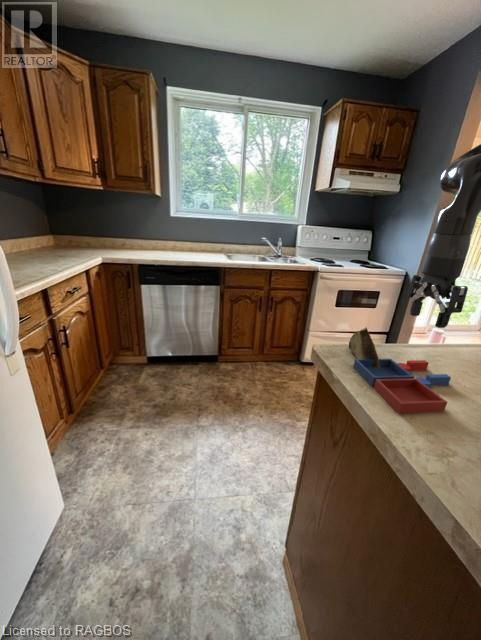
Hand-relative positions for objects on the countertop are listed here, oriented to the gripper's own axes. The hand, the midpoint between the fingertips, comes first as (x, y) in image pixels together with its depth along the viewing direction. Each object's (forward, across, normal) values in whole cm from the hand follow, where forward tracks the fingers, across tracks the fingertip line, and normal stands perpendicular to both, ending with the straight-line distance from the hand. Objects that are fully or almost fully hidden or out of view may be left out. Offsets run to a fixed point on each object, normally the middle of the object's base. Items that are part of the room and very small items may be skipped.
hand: (426, 321), depth 68 cm
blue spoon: (+14, -7, +1) cm, 15 cm away
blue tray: (+13, -3, +11) cm, 18 cm away
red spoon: (+14, 0, +1) cm, 14 cm away
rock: (+13, +6, +11) cm, 18 cm away
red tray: (+13, -13, +11) cm, 22 cm away
